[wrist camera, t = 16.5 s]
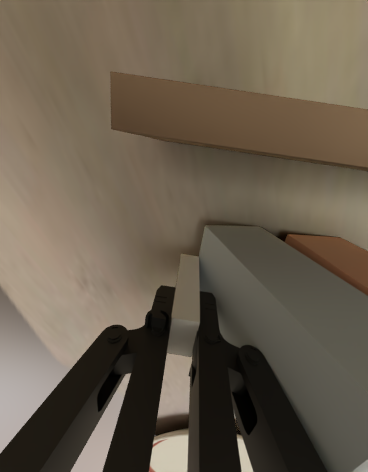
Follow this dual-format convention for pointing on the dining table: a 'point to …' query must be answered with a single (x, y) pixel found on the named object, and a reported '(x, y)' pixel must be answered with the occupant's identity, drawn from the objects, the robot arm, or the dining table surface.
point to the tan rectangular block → (335, 257)
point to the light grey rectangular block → (296, 333)
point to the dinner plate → (183, 452)
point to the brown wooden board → (240, 121)
